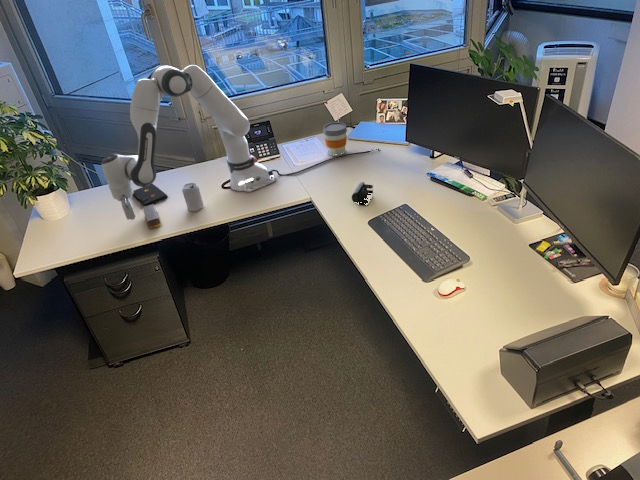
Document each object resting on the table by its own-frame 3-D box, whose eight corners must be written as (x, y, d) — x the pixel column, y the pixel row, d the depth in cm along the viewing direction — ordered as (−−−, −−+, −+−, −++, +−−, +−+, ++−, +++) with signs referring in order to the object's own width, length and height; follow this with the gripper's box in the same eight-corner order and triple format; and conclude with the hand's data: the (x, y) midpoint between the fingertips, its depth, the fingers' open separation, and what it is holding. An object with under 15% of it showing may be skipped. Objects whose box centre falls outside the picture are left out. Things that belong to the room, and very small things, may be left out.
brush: (156, 212, 219) (153, 204, 216) (161, 226, 208) (158, 217, 205) (145, 215, 217) (142, 207, 214) (150, 229, 206) (147, 221, 204)
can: (200, 212, 215) (193, 189, 208) (185, 211, 216) (178, 189, 209) (206, 203, 221) (200, 181, 214) (192, 203, 222) (185, 181, 215)
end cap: (358, 194, 215) (357, 181, 211) (373, 195, 213) (372, 182, 209) (351, 205, 208) (351, 191, 204) (367, 206, 205) (366, 193, 201)
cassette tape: (131, 195, 235) (130, 191, 234) (153, 186, 241) (151, 182, 239) (145, 207, 223) (144, 203, 222) (167, 198, 229) (166, 194, 228)
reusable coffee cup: (337, 145, 261) (335, 120, 252) (352, 151, 253) (351, 125, 244) (320, 153, 255) (318, 127, 246) (335, 159, 247) (333, 133, 238)
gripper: (132, 199, 193) (142, 226, 201) (127, 179, 208) (136, 206, 216) (117, 203, 191) (127, 231, 199) (112, 183, 206) (123, 210, 214)
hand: (132, 218), depth 208 cm, fingers closed
